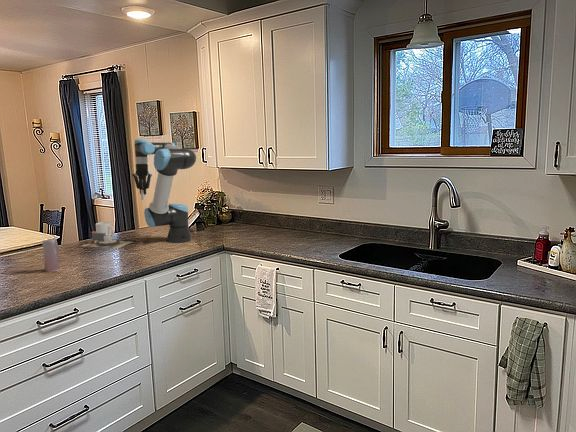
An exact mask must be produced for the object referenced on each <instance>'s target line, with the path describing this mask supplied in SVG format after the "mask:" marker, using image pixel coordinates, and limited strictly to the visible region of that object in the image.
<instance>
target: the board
mask: <svg viewBox="0 0 576 432" xmlns="http://www.w3.org/2000/svg"><path fill="white" fill-rule="evenodd" d="M112 240H117V242H114V243H99V241H96V240H92V239H91V240H88V241H87V243H86V244H83V245H82V247H87V248H88V247H90V248H108V249H120V248H122V247H124V246H128V245H129V244H131V243H133V241H130V240H129V241H125V240H124V241H123V240H119V239H117V238H112Z"/></svg>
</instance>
